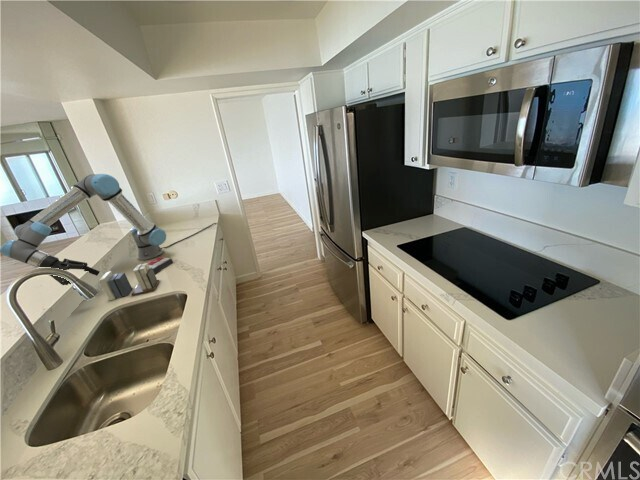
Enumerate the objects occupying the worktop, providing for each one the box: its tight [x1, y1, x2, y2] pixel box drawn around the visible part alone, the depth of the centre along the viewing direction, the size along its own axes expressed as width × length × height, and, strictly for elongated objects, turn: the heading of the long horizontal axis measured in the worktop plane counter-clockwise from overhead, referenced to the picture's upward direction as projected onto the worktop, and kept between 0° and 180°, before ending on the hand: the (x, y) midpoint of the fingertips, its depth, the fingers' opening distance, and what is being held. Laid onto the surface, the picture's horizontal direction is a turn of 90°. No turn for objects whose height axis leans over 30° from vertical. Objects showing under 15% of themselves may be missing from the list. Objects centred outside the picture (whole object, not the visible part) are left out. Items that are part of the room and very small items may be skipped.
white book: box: [98, 270, 117, 301], centre depth 144 cm, size 9×2×13 cm, turn 16°
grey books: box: [108, 272, 133, 299], centre depth 145 cm, size 7×5×11 cm
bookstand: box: [131, 262, 160, 297], centre depth 147 cm, size 11×11×14 cm
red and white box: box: [147, 257, 173, 275], centre depth 172 cm, size 11×4×15 cm
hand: (92, 279), depth 140 cm, fingers open, 13 cm apart
